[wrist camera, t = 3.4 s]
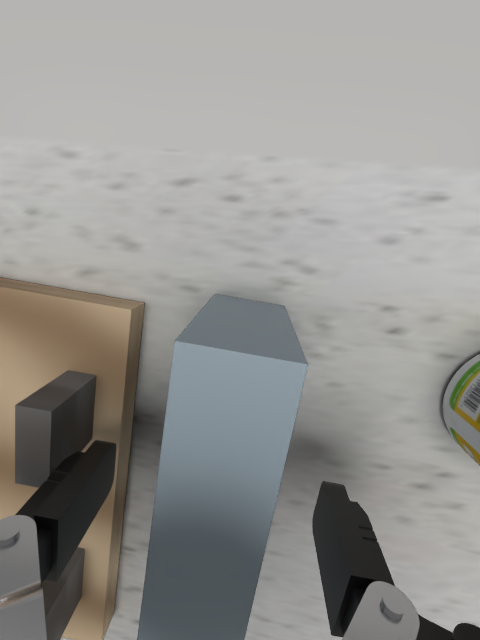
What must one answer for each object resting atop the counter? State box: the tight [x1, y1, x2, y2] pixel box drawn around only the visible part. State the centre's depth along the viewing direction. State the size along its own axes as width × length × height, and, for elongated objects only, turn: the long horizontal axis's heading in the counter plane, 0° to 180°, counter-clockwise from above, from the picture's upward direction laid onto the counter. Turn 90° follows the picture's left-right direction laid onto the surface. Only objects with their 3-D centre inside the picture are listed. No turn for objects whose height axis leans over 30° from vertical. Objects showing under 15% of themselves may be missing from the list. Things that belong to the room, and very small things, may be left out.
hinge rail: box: [0, 278, 144, 640], centre depth 14 cm, size 18×9×4 cm, turn 171°
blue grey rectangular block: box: [137, 294, 308, 640], centre depth 12 cm, size 14×3×7 cm, turn 170°
